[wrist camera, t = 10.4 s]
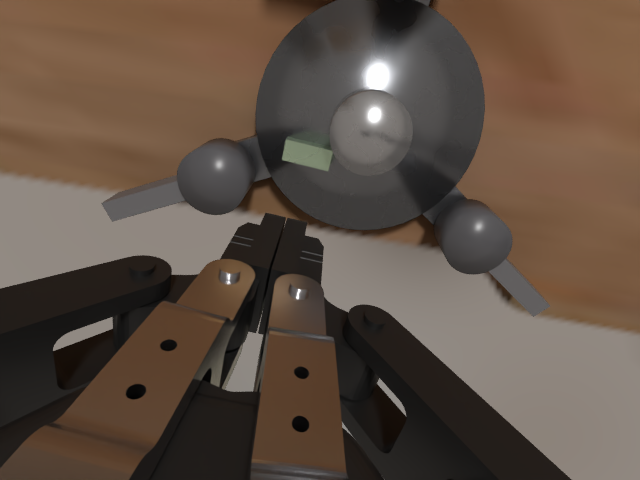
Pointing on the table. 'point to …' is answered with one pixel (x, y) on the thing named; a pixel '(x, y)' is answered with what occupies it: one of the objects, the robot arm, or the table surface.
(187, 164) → the knob
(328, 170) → the base
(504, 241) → the grey bar with ball
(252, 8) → the table surface
